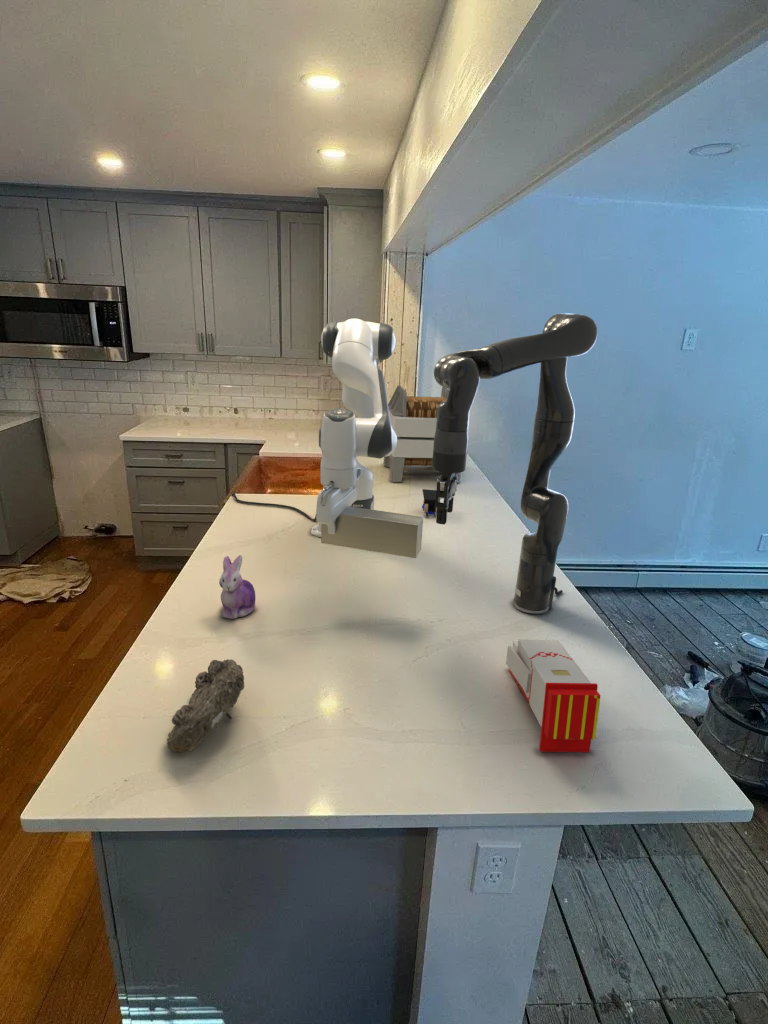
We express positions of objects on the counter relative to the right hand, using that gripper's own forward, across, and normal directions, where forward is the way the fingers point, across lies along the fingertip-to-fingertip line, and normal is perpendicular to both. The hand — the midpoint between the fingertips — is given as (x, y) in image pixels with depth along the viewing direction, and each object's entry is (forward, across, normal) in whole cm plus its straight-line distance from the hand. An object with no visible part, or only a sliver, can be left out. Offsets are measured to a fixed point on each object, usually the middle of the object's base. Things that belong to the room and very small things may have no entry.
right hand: (444, 517), depth 131 cm
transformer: (+30, +138, +35) cm, 145 cm away
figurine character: (+30, +84, +19) cm, 91 cm away
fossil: (+30, -46, +34) cm, 64 cm away
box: (+12, +4, +19) cm, 22 cm away
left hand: (+8, +4, +28) cm, 29 cm away
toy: (+30, -21, -26) cm, 45 cm away
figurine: (+30, -9, +50) cm, 59 cm away
